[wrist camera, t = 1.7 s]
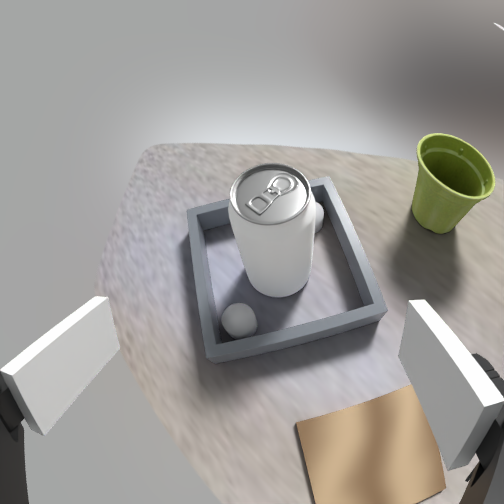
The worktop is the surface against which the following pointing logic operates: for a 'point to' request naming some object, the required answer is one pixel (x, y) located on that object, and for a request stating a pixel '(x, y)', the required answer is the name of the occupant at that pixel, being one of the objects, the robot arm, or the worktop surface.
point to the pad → (373, 452)
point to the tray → (241, 315)
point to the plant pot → (449, 181)
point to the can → (274, 227)
